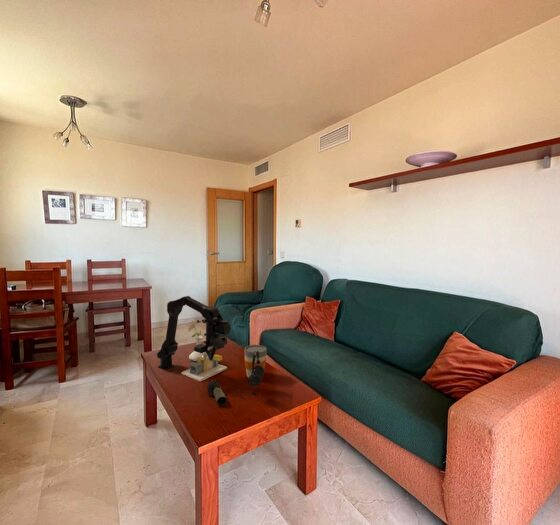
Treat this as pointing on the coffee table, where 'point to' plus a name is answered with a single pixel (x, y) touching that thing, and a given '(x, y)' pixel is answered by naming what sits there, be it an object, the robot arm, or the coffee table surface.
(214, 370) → the mounting board
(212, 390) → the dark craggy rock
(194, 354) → the white rounded piece
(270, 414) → the coffee table surface
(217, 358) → the valve lever
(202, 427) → the coffee table surface
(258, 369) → the headphones
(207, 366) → the blocks
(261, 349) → the reusable coffee cup
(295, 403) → the coffee table surface
